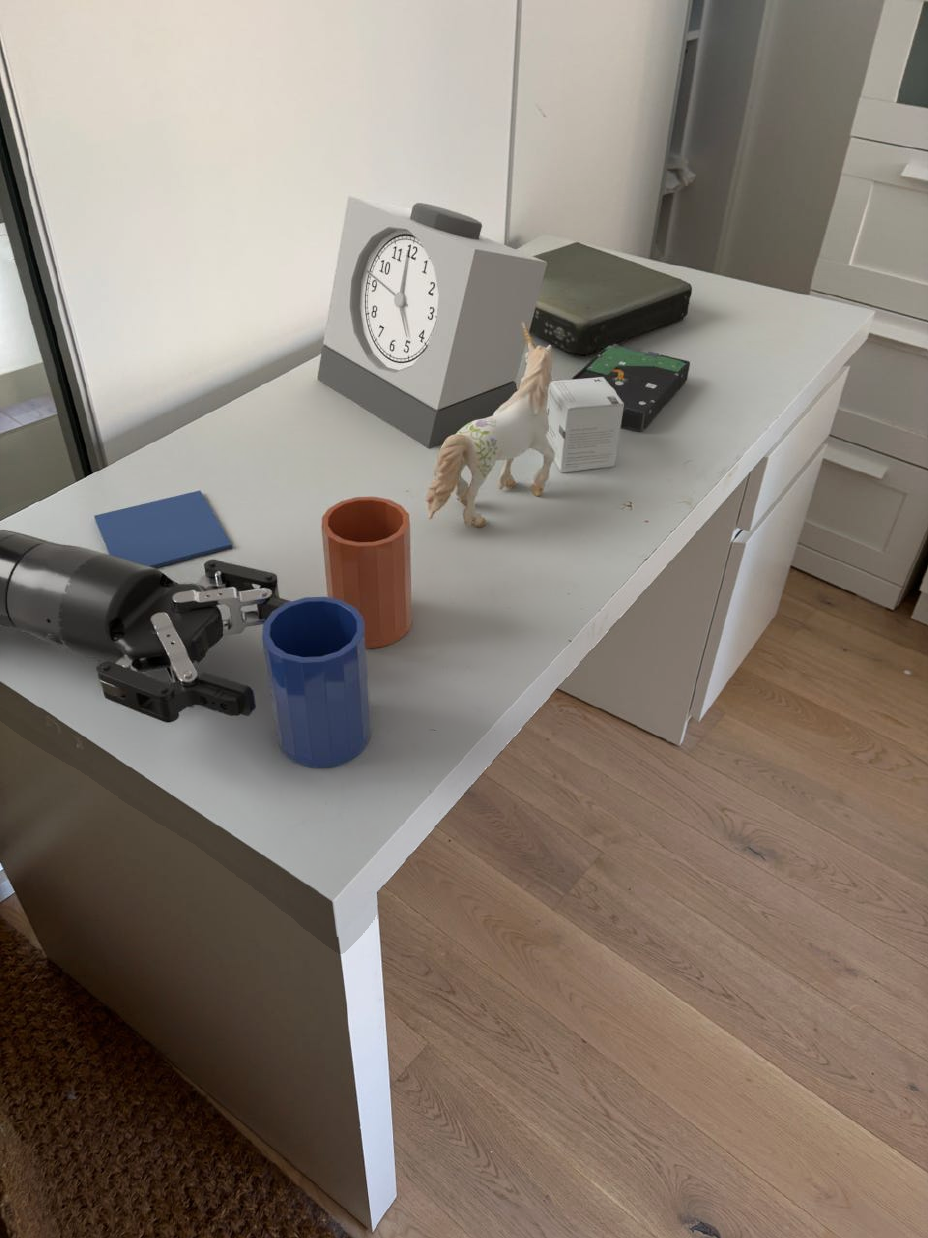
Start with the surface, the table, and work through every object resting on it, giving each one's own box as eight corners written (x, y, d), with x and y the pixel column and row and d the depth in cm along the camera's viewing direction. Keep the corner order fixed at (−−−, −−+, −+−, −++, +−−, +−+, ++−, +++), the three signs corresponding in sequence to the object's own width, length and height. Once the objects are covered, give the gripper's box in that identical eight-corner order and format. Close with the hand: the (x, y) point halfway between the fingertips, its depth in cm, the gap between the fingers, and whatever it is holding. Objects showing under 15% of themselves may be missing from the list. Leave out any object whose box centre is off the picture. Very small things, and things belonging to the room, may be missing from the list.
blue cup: (297, 781, 66) (282, 674, 60) (265, 719, 70) (248, 613, 64) (385, 748, 68) (380, 642, 62) (349, 690, 73) (341, 586, 66)
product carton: (541, 444, 102) (547, 380, 97) (596, 438, 103) (603, 374, 98) (560, 474, 97) (566, 408, 93) (616, 467, 99) (626, 401, 94)
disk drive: (643, 436, 104) (687, 381, 114) (647, 413, 102) (691, 359, 112) (555, 413, 108) (606, 361, 118) (557, 390, 106) (608, 339, 116)
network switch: (699, 313, 130) (706, 276, 127) (600, 370, 116) (605, 330, 113) (559, 269, 141) (562, 234, 138) (453, 316, 127) (454, 278, 124)
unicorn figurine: (577, 461, 99) (591, 337, 91) (489, 558, 86) (496, 423, 78) (515, 443, 102) (522, 321, 93) (420, 534, 89) (419, 402, 80)
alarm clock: (317, 378, 113) (302, 196, 100) (422, 343, 121) (421, 170, 108) (428, 448, 101) (427, 252, 88) (536, 403, 109) (550, 218, 96)
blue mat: (119, 577, 83) (118, 574, 83) (94, 518, 90) (93, 515, 89) (232, 547, 87) (231, 544, 86) (200, 493, 93) (200, 490, 93)
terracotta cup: (349, 658, 76) (341, 554, 69) (318, 610, 80) (308, 508, 74) (424, 633, 78) (424, 531, 72) (391, 588, 83) (387, 488, 76)
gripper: (8, 621, 63) (220, 689, 59) (141, 510, 73) (330, 561, 69) (38, 702, 68) (236, 771, 64) (159, 588, 78) (337, 640, 74)
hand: (285, 662), depth 66 cm, fingers open, 8 cm apart
